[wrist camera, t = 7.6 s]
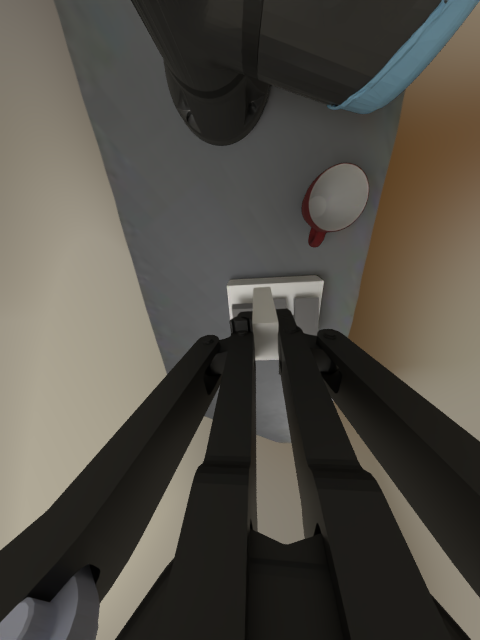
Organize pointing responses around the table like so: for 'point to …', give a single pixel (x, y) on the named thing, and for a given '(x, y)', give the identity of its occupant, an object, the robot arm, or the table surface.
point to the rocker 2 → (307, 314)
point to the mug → (334, 200)
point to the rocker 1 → (241, 308)
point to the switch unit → (275, 289)
